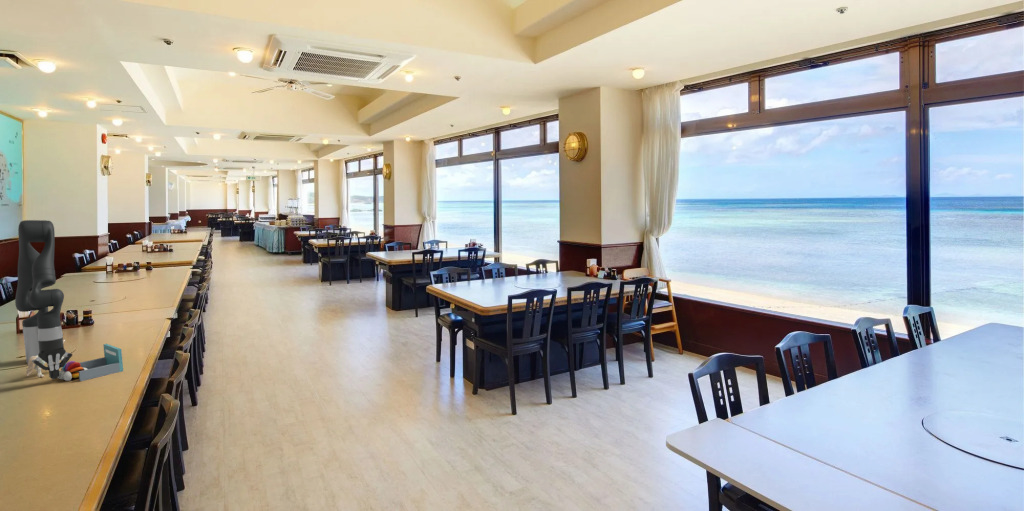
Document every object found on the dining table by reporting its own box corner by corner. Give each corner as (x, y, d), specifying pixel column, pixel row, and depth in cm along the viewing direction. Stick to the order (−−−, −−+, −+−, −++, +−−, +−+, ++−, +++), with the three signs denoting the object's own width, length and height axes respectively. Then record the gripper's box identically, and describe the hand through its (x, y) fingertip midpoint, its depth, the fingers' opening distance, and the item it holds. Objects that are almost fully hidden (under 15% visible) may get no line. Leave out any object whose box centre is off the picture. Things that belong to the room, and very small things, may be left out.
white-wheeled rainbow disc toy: (68, 382, 213) (66, 365, 212) (54, 379, 216) (52, 363, 215) (91, 376, 220) (90, 359, 220) (77, 373, 224) (76, 357, 223)
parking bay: (66, 374, 222) (64, 352, 221) (108, 364, 235) (106, 343, 234) (80, 381, 214) (78, 358, 213) (123, 371, 227) (121, 349, 226)
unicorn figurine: (78, 365, 235) (76, 336, 233) (43, 380, 216) (39, 349, 214) (62, 365, 234) (59, 337, 233) (24, 380, 215) (21, 349, 214)
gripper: (67, 333, 219) (71, 372, 221) (26, 340, 208) (30, 381, 210) (74, 335, 215) (78, 375, 217) (32, 342, 204) (36, 385, 206)
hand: (54, 378), depth 213 cm, fingers closed
